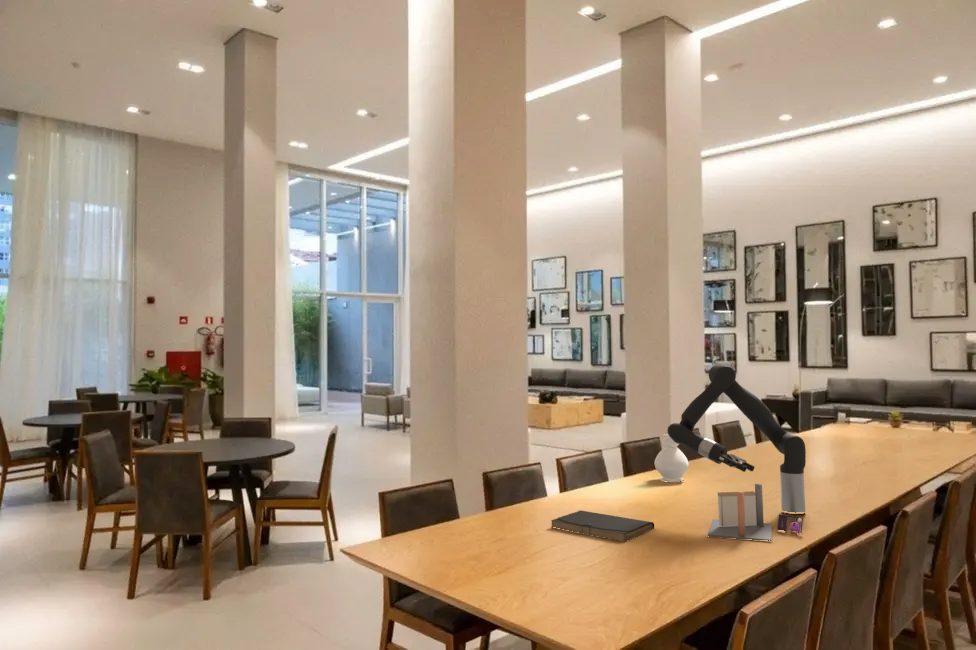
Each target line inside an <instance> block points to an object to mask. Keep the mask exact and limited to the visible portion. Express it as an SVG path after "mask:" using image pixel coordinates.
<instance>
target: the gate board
mask: <svg viewBox="0 0 976 650" xmlns="http://www.w3.org/2000/svg"><path fill="white" fill-rule="evenodd" d="M736 492H737V507H738V526H720V525H719V518H718V519H717V518H716V519H715V518H713V519H712V520H711V524H710V526H709V530H708V532H707V537H708V536H709V537H708V538H714V537H722V538H721V539H725V538H736V539H735V540H737V539H752V540H768V541H769V540H770V541H772V542H773V540H772V538H773V537H772V535H771V534H772V523H769V522H764V505H763V504H764V500H763V484H762V483H756V484H755V483H754V492H755V495H756V496H755V502H756V525H745V510H744V492H745V491H739V490H738V491H736Z"/></svg>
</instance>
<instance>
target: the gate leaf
mask: <svg viewBox="0 0 976 650" xmlns="http://www.w3.org/2000/svg"><path fill="white" fill-rule="evenodd" d="M737 492H738V491H719V492H717V504H718V505H717V508H718V520H719V525H720V526H738V507H737ZM743 492H744V510H745V525H756V499H755V496H756V495H755V491H753V490H752V491H750V490H749V491H743Z"/></svg>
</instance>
